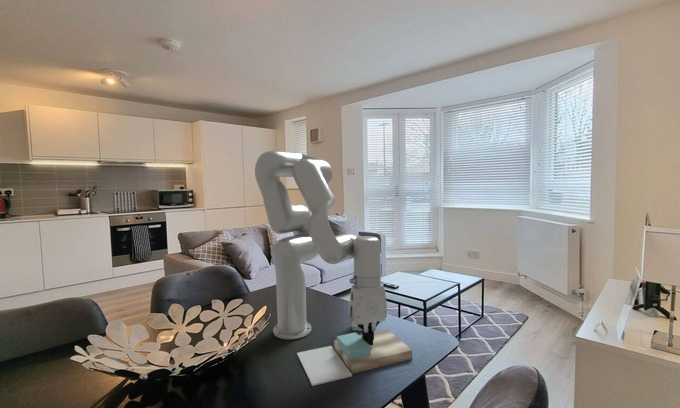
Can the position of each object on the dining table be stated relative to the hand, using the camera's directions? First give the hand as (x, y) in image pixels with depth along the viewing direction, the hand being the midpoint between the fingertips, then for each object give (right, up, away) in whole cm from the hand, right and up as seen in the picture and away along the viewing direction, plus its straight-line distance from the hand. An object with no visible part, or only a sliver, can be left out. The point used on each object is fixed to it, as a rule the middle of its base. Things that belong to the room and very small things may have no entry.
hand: (368, 343), depth 93 cm
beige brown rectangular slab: (+1, -3, +1) cm, 3 cm away
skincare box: (-1, -2, +18) cm, 18 cm away
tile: (-4, 0, -2) cm, 5 cm away
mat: (-13, -4, -5) cm, 14 cm away
